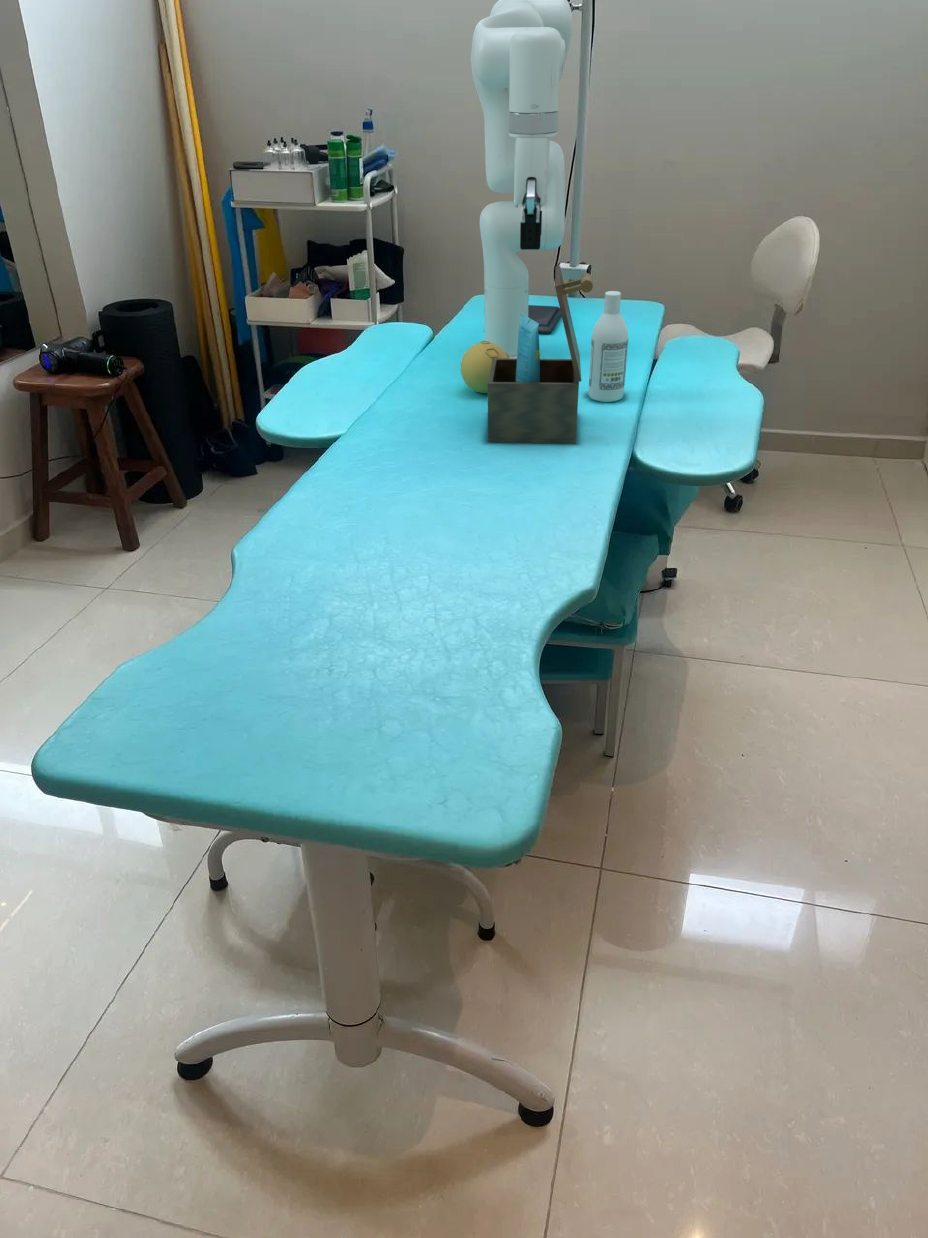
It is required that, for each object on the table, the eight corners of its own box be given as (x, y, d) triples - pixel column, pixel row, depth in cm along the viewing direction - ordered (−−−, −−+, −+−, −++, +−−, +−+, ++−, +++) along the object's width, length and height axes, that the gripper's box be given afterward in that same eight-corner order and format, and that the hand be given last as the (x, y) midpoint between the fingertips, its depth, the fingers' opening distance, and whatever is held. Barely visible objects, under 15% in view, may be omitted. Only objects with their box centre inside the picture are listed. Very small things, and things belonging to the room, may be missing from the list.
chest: (487, 442, 163) (487, 383, 157) (492, 414, 175) (492, 358, 169) (575, 443, 162) (578, 384, 156) (574, 415, 173) (577, 358, 167)
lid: (554, 286, 148) (590, 276, 146) (555, 266, 159) (588, 257, 157) (576, 382, 156) (610, 373, 155) (575, 356, 167) (607, 348, 166)
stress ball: (483, 404, 179) (483, 353, 174) (450, 391, 185) (449, 342, 180) (520, 391, 185) (521, 342, 179) (487, 379, 191) (487, 331, 185)
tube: (548, 428, 166) (551, 321, 155) (525, 433, 164) (526, 325, 154) (528, 415, 172) (530, 310, 161) (505, 419, 170) (505, 314, 159)
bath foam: (630, 396, 181) (639, 292, 170) (606, 405, 177) (614, 299, 166) (605, 387, 185) (612, 285, 174) (580, 396, 182) (586, 292, 171)
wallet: (549, 326, 215) (487, 322, 219) (549, 334, 216) (487, 330, 220) (566, 304, 231) (507, 300, 235) (565, 311, 232) (507, 308, 236)
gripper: (511, 119, 149) (510, 231, 158) (506, 131, 134) (505, 254, 144) (558, 118, 148) (554, 231, 157) (557, 130, 134) (553, 254, 143)
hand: (531, 242), depth 151 cm, fingers open, 9 cm apart
